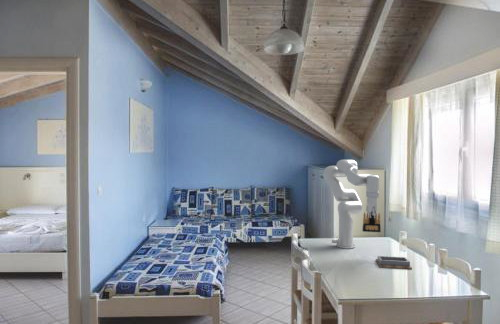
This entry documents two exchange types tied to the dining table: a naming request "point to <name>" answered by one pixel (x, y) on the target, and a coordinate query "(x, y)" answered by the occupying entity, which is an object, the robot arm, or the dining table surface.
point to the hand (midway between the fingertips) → (371, 224)
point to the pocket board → (393, 262)
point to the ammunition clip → (367, 226)
